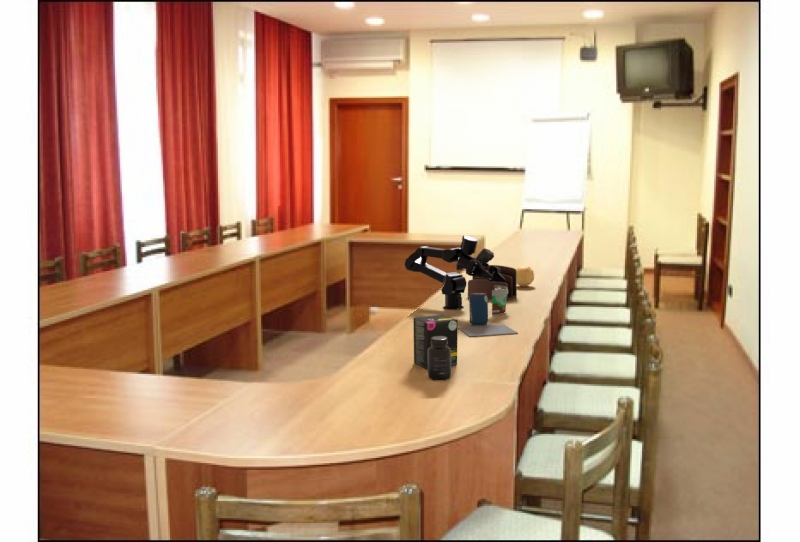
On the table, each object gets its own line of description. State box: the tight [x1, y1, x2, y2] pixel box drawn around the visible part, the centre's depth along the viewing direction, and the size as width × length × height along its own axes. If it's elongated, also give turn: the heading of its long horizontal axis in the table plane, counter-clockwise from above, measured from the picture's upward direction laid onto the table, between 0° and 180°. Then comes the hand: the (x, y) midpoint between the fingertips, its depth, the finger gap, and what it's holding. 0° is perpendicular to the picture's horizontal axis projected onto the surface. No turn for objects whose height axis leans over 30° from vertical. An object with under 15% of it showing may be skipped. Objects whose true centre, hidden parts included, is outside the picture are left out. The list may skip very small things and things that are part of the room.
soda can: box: [468, 292, 489, 327], centre depth 288 cm, size 7×7×12 cm
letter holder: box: [467, 264, 518, 302], centre depth 343 cm, size 10×20×14 cm, turn 57°
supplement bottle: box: [427, 336, 452, 381], centre depth 222 cm, size 7×7×12 cm
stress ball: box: [515, 265, 535, 288], centre depth 368 cm, size 10×10×10 cm
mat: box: [458, 323, 519, 338], centre depth 279 cm, size 14×18×1 cm
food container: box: [491, 285, 508, 315], centre depth 311 cm, size 12×6×10 cm, turn 168°
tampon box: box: [412, 314, 459, 371], centre depth 236 cm, size 11×9×15 cm
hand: (498, 279), depth 300 cm, fingers open, 9 cm apart
